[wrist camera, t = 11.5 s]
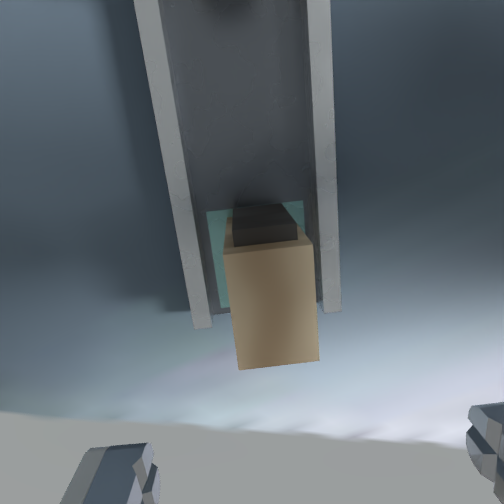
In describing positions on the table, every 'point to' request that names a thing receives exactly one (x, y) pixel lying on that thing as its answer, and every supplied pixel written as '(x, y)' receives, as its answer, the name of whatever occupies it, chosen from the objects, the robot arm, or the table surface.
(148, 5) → the rail
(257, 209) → the wooden block
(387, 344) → the table surface
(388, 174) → the table surface
